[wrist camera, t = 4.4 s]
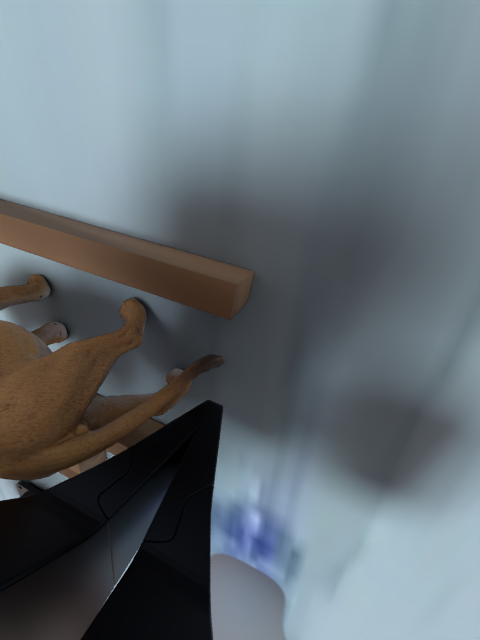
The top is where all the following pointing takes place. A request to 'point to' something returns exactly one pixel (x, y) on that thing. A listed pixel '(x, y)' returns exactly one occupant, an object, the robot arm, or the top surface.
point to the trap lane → (127, 275)
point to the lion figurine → (70, 390)
